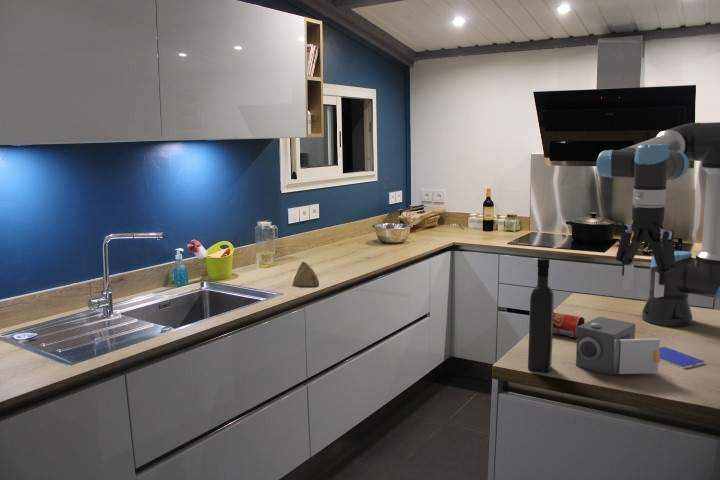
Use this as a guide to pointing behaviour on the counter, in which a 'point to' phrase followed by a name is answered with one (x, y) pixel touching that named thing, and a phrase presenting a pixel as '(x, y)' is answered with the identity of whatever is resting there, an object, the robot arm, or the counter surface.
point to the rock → (305, 276)
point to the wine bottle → (541, 321)
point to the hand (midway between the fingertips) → (642, 292)
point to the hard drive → (678, 358)
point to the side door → (636, 356)
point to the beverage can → (566, 324)
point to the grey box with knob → (600, 342)
